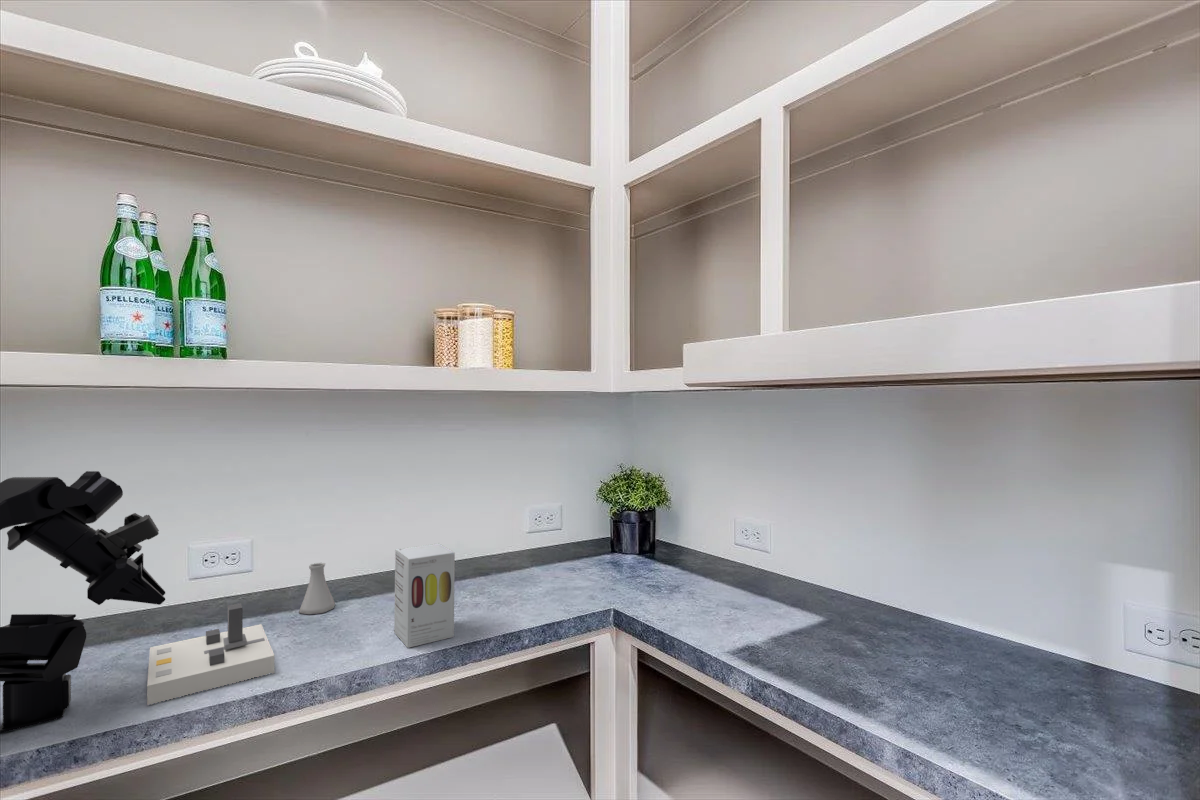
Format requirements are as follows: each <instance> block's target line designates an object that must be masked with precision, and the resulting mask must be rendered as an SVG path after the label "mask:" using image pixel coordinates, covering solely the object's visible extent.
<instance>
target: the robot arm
mask: <svg viewBox="0 0 1200 800" xmlns="http://www.w3.org/2000/svg"><path fill="white" fill-rule="evenodd" d="M123 494H124V493H123V489H122V487H121V486H120V484H117V483H116V482H115V481H113V480H112V479H111V478H108V477H106V476H104V475H102V474H101V472H100V471H98V470H96V471H95V470H91V471H89V470H87V471H85V472H84V473H82V474H81V475H80V477H78V478H77V480H75V481H74V482H73V483H72V484H70V486H68V485H67V483H66V482H64V480H62V479H61V478H59V476H58V477H57V476H30V477H29V476H26V477H24V476H21V477H20V476H14V477H13V476H12V477H9V478H8V477H7V479H4V480H2V481H1V482H0V531H1V530H4V529H6V528H10V527H11V528H10V529H9V530H8V531H7V532H6V535H7V539H8V540H7V550H8V551H13V550H15V549H16V548H17V547H19V546H20V545H21V544H23V543H24V542H25V541H26V542H28V543H29V544H31V545H33V546H34V547H36V548H38V549H40V550H41V551H43V552H44V553H45V554H47V555H49V556H51V557H53V558H54V559H56V560H57V561H59V562H60V563H59V566H60V567H61V568H63V569H65V570H67V569H68V568H70V569H72V570H74V571H75V572H78V573H79V574H81V575H83V576H84V577H85V582H87V583H89V585H88V587H87V591H86V592H87V593H86V595H87V597H86V598H87V600H89V601H92V602H93V603H95V604H96V605H98V606H101V605H102V604H104V602H105V601H109V600H116V601H125V602H126V601H127V602H134V603H135V602H136V603H143V604H150V605H158V606H161V605H162V604H163V603H164V602H165V601H166V597H165V595H166V591H165V590H164V588H162V586H161V585H160V584H159V583H158V582H157V581H156V580H155V579H154V577H153V576H152V575H151V574H150V573H149V572H148V571H147V570H146V568H145V566H144V553H143V552H142V553H140V554H139V555H138V556H137V557H136V558H135V559H134V558H132V556H133V555H134V554H135V553H139V552H140V551H142V548H143V546H142V545H141V544H139V543H143V542H144V541H147V540H148V541H149V540H152V539H153V538H155V537H157V536H158V535H159V534H160V533H159V531H160V530H159V528H158V527H157V525H156V524H155V522H154V520H153V518H152V517H151V516H150V514H145V515H144V516H142V515H139V514H138V513H136V512H133V513H132V514H129V515H127V516H125V517H124V522H123V526H119V527H118V528H116V529H114V530H113V531H110V532H108V531H107V530H105V529H103V528H101V529H100V528H97V529H94V528H93V527H91V526H90V525H89V524H93V523H96V522H97V521H98V520H99V519H100V518H101V517H102V516H103V515H104V514H106V512H108V511H109V510H110V509H111V508H112V507H113V506H114V505H115V504H117V502H118V501H120V500H121V498H123ZM76 616H77V614H64V613H63V614H59V613H57V614H53V613H50V614H49V613H40V614H39V613H35V614H32V613H31V614H30V613H29V614H27V613H24V614H22V613H21V614H18V613H16V614H11V615H10V620H9V624H6V625H4V626H0V682H3V684H2V723H1V725H0V734H3V733H7V732H11V731H16V730H19V729H23V728H28V727H32V726H35V725H40V724H43V723H48V722H52V721H55V720H59V719H62V718H63V717H64V715H65V710H66V709H68V708H69V707H70V705H71V704H70V703H71V701H72V695H71V694H72V675H71V674H69V672H72V671H73V670H75V669H77V668H78V667H79V664H80V660H81V657H82V653H83V651H84V647H85V643H86V640H87V631H86V629H85V626H84V624H85V622H84V621H83V620H81V619H76ZM28 661H46V662H44V663H43V662H41V663H39V662H37V663H36V662H33V663H32V662H30V663H28Z"/></svg>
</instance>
